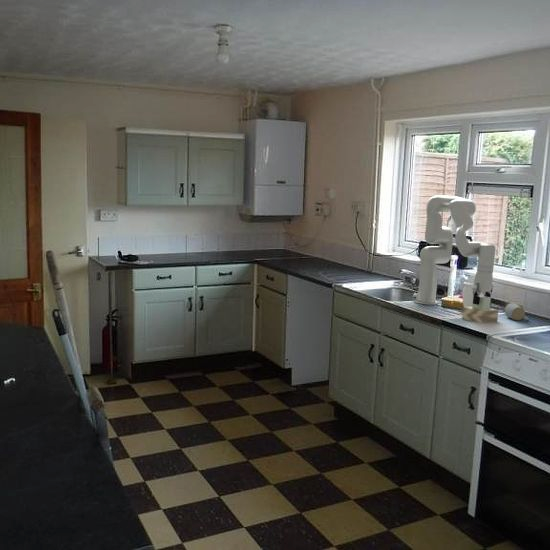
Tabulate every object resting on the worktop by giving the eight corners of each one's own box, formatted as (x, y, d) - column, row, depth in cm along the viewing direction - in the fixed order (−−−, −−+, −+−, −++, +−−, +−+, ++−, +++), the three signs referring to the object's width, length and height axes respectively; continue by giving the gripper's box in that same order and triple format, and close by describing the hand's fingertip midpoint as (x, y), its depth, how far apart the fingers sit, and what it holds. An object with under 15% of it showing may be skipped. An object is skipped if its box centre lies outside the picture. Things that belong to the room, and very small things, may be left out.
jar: (480, 313, 326) (484, 285, 323) (460, 311, 329) (463, 283, 327) (481, 310, 336) (484, 282, 333) (461, 307, 339) (464, 280, 337)
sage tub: (472, 307, 310) (473, 296, 309) (478, 306, 314) (480, 295, 313) (482, 310, 306) (484, 298, 305) (489, 309, 310) (490, 297, 309)
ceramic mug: (511, 320, 313) (513, 305, 311) (503, 317, 321) (505, 302, 319) (531, 321, 314) (533, 306, 313) (522, 318, 322) (524, 303, 321)
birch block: (461, 318, 312) (463, 307, 311) (476, 316, 319) (477, 305, 318) (482, 324, 302) (483, 312, 302) (497, 321, 310) (498, 310, 309)
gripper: (487, 267, 315) (484, 300, 318) (468, 269, 304) (464, 303, 307) (501, 269, 310) (497, 303, 312) (482, 271, 298) (478, 306, 301)
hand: (481, 303), depth 309 cm, fingers open, 9 cm apart
